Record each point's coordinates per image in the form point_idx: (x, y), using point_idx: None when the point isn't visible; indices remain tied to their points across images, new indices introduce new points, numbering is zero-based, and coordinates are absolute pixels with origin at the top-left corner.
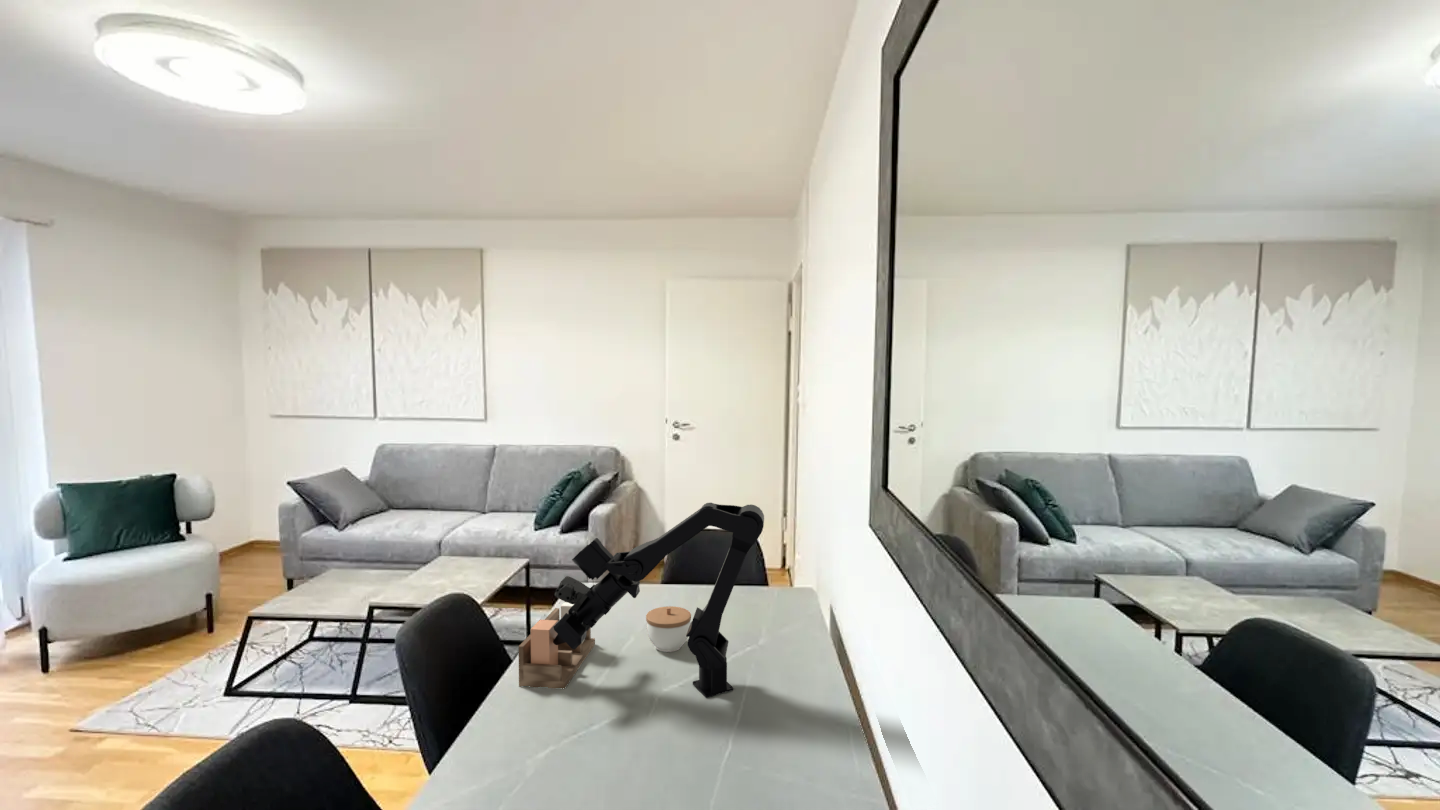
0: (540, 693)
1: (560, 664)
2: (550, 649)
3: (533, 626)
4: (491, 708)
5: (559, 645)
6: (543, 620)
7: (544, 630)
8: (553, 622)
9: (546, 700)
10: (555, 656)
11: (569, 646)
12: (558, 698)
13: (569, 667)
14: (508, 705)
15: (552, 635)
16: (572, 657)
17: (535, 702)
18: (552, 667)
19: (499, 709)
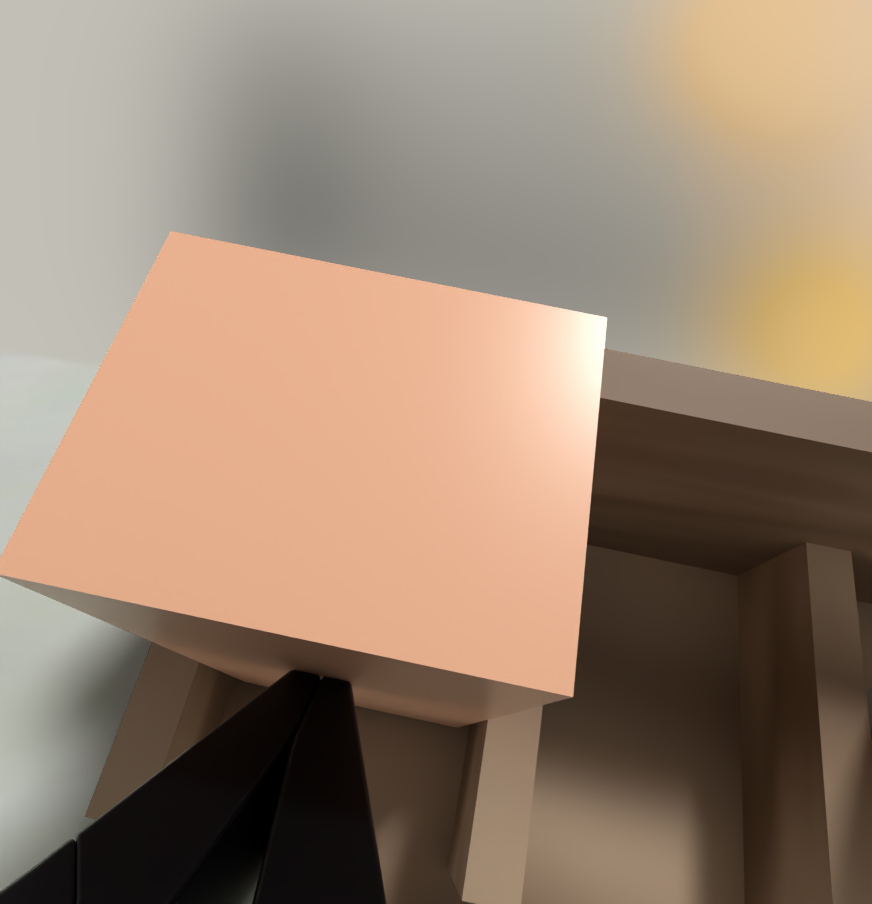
0: (138, 638)
1: (465, 750)
2: (208, 657)
3: (290, 259)
4: (37, 363)
5: (774, 684)
6: (563, 381)
7: (50, 474)
8: (447, 606)
9: (7, 708)
10: (390, 707)
11: (777, 802)
12: (3, 813)
13: (423, 857)
14: (36, 450)
15: (255, 650)
16: (639, 852)
17: (8, 624)
18: (125, 719)
19: (5, 408)
